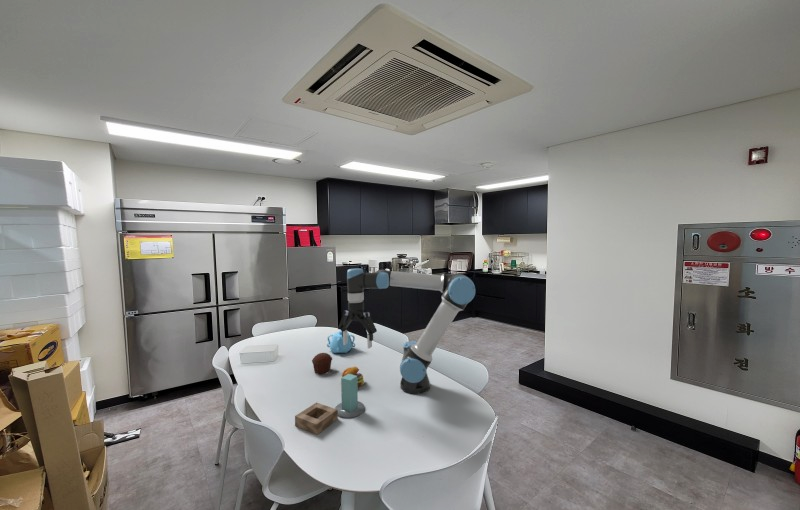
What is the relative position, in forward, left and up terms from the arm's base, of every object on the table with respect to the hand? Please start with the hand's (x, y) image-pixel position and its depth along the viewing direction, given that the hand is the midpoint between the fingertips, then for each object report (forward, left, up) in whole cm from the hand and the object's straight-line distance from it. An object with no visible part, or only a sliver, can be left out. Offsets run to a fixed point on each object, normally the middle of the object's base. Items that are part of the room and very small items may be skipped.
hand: (357, 345), depth 145 cm
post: (-3, +10, -24) cm, 27 cm away
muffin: (+37, -15, -25) cm, 47 cm away
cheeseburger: (+11, -10, -25) cm, 29 cm away
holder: (+3, +24, -25) cm, 35 cm away
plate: (-3, +10, -25) cm, 27 cm away
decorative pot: (+49, -46, -25) cm, 72 cm away
